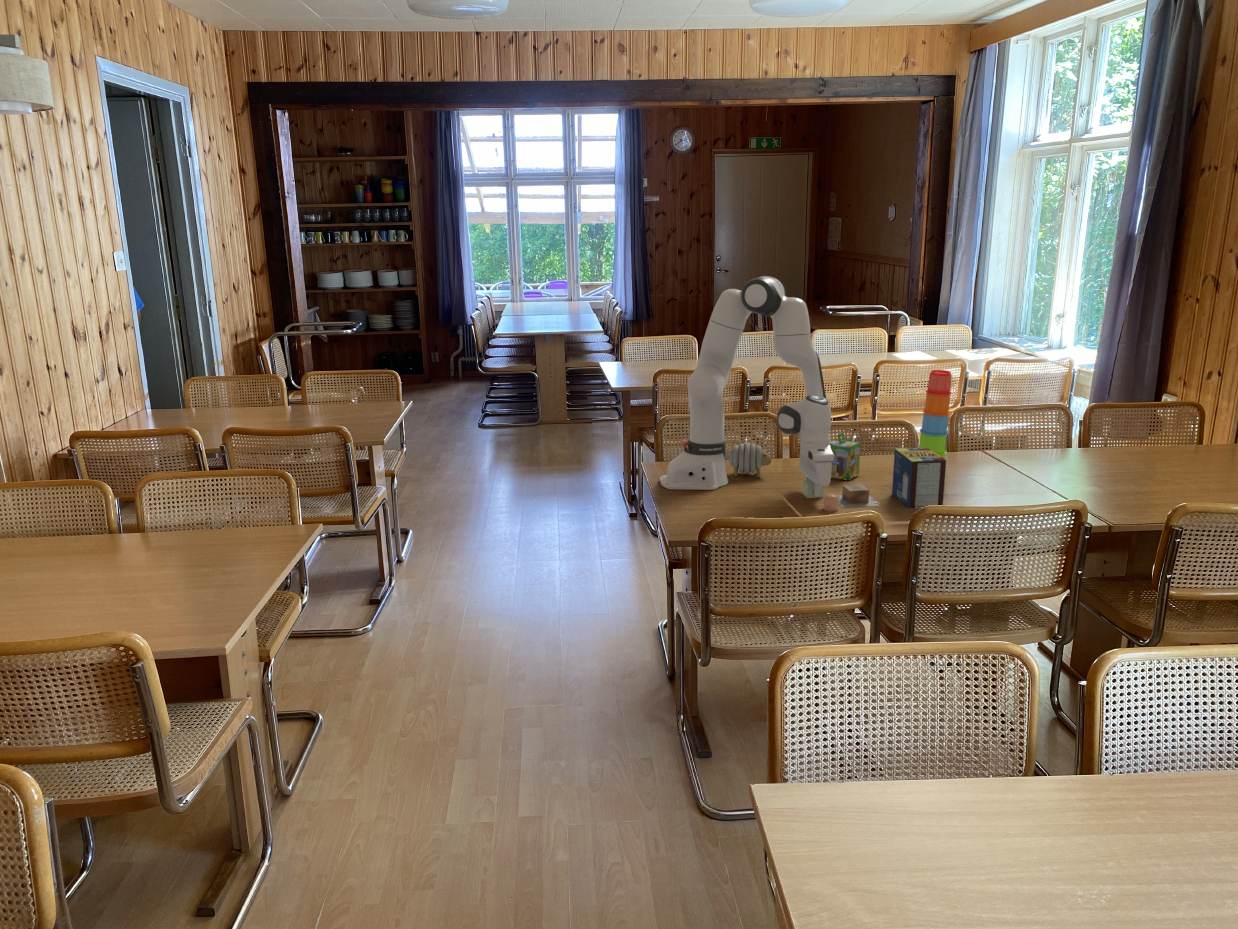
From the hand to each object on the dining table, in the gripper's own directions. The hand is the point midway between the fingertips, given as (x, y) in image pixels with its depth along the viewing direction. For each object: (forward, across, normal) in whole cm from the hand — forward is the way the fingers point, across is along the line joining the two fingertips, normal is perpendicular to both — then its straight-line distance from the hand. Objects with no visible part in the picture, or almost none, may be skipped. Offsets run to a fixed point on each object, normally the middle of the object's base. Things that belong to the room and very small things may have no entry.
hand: (813, 492), depth 279 cm
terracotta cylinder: (+2, +14, +1) cm, 14 cm away
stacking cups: (+2, -23, +48) cm, 53 cm away
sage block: (+2, 0, 0) cm, 2 cm away
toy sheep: (+2, -29, -14) cm, 32 cm away
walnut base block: (+1, +7, +11) cm, 13 cm away
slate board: (+2, +7, +11) cm, 13 cm away
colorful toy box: (+2, -22, +17) cm, 28 cm away
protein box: (+2, +10, +29) cm, 31 cm away
